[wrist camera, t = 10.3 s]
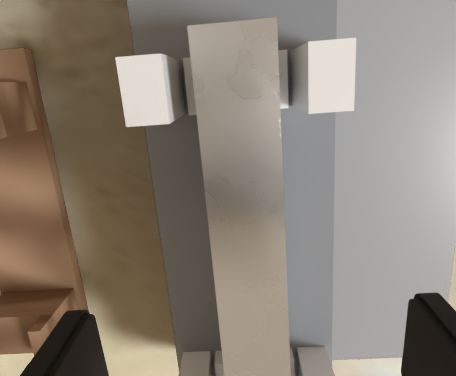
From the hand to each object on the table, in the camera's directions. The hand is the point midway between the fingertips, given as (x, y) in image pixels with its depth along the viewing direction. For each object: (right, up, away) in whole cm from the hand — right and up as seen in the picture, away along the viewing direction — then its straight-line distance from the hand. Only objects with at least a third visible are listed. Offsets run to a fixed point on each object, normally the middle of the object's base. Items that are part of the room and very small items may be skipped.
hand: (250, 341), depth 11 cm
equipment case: (+5, +4, +14) cm, 16 cm away
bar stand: (-15, +3, +15) cm, 22 cm away
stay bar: (0, +1, +6) cm, 6 cm away
